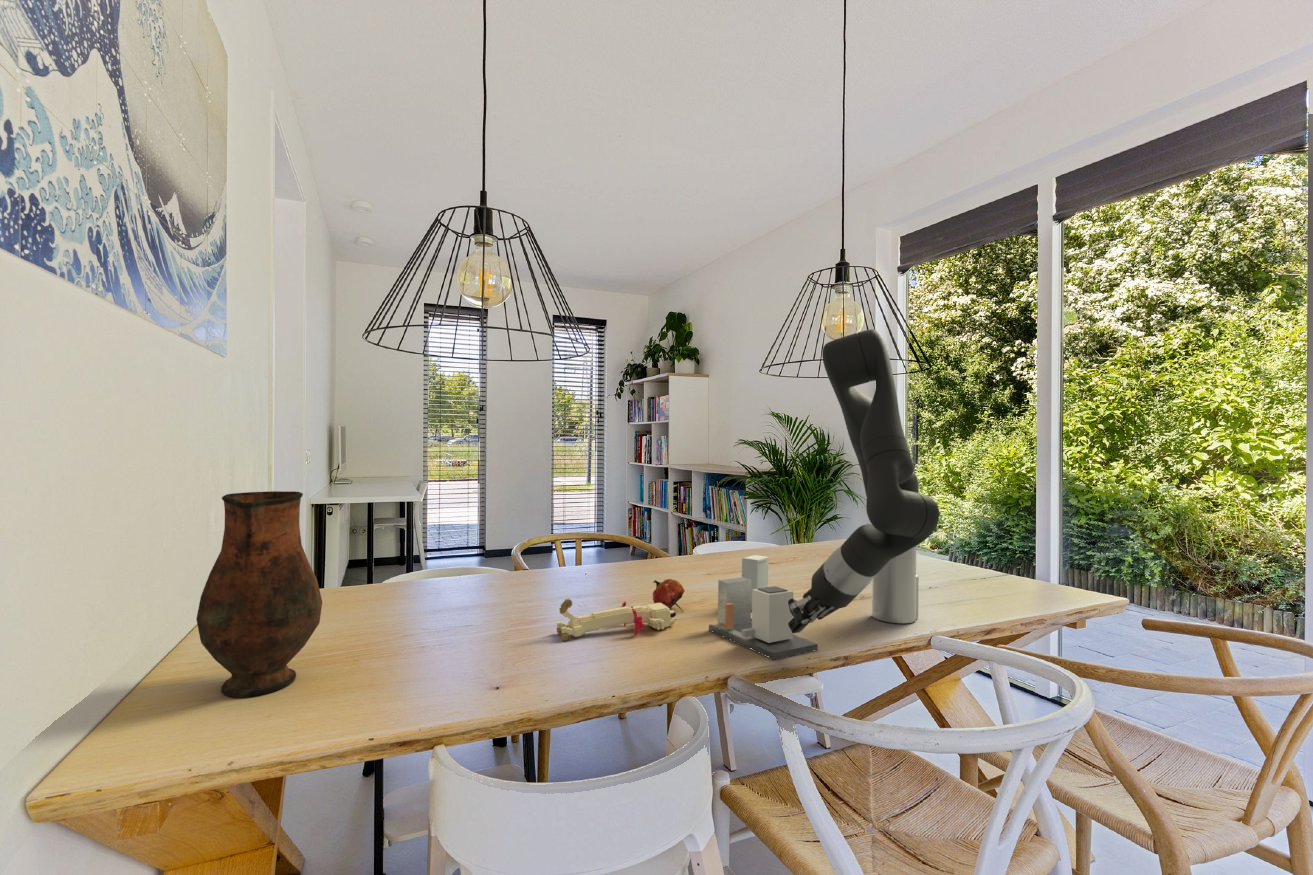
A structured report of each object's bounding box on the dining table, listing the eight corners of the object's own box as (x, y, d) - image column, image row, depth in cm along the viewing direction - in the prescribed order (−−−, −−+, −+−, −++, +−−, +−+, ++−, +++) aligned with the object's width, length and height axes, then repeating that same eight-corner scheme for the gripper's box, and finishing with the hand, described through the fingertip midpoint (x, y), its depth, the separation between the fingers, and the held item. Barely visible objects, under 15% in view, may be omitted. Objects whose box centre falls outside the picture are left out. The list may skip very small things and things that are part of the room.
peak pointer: (730, 627, 127) (731, 602, 127) (733, 628, 126) (733, 603, 126) (725, 628, 126) (725, 603, 126) (727, 629, 125) (727, 604, 125)
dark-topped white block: (775, 631, 125) (775, 584, 125) (792, 638, 121) (793, 590, 121) (741, 637, 121) (742, 589, 121) (758, 644, 116) (758, 594, 116)
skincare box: (756, 611, 145) (757, 560, 145) (740, 608, 148) (741, 557, 148) (768, 606, 150) (769, 556, 150) (753, 603, 153) (753, 554, 153)
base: (750, 623, 136) (750, 576, 136) (817, 650, 118) (818, 596, 118) (708, 630, 130) (709, 581, 130) (773, 659, 113) (773, 602, 113)
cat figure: (566, 652, 119) (685, 629, 129) (563, 607, 119) (683, 587, 129) (555, 637, 128) (666, 616, 138) (552, 595, 128) (664, 577, 138)
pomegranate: (686, 617, 148) (660, 586, 153) (700, 596, 145) (673, 565, 150) (666, 626, 143) (639, 594, 148) (679, 605, 139) (652, 573, 144)
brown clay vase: (171, 711, 88) (176, 498, 88) (232, 660, 109) (236, 487, 109) (302, 700, 92) (306, 497, 92) (337, 653, 113) (340, 487, 113)
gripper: (859, 553, 112) (809, 606, 122) (804, 559, 105) (756, 615, 115) (883, 589, 107) (829, 641, 117) (827, 598, 100) (775, 652, 111)
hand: (793, 628), depth 116 cm, fingers closed
